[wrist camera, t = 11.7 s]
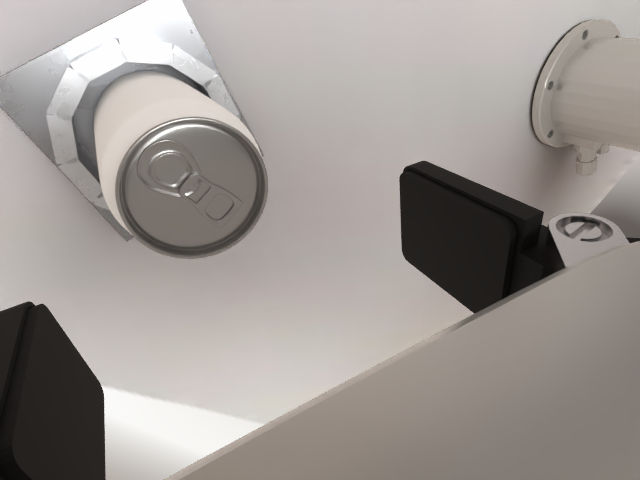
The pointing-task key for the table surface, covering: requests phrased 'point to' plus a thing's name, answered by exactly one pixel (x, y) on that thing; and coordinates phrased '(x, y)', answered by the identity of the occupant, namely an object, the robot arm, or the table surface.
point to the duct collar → (105, 85)
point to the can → (177, 166)
